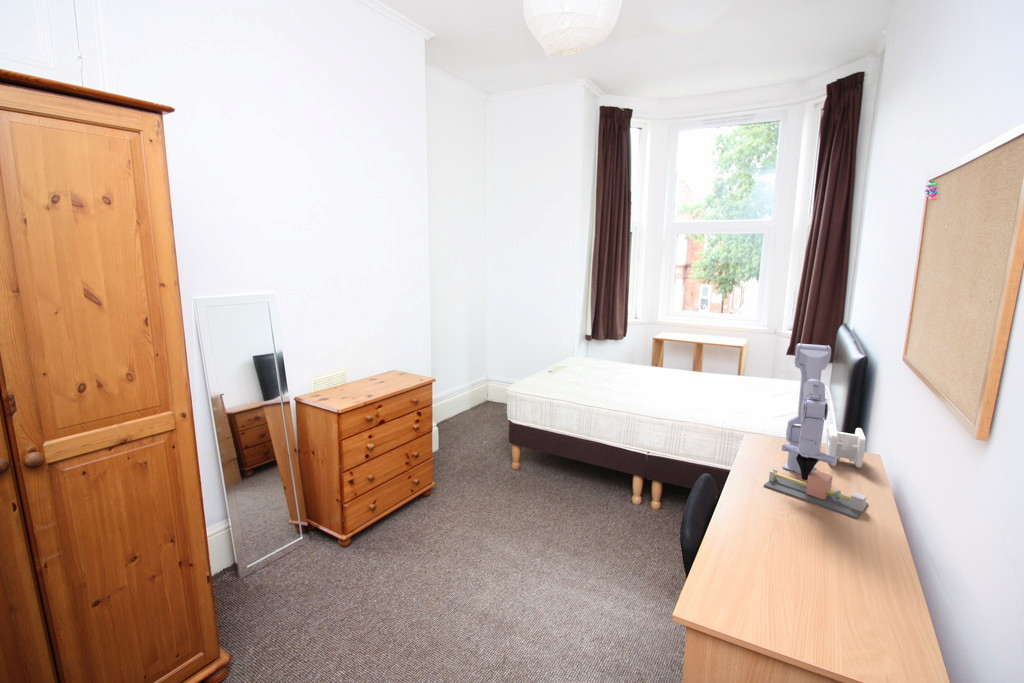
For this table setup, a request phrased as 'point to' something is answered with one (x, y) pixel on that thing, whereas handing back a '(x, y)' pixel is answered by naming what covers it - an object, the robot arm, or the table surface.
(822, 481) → the marker sleeve
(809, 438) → the robot arm
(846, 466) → the table surface
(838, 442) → the cable organizer
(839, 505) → the cord rig
